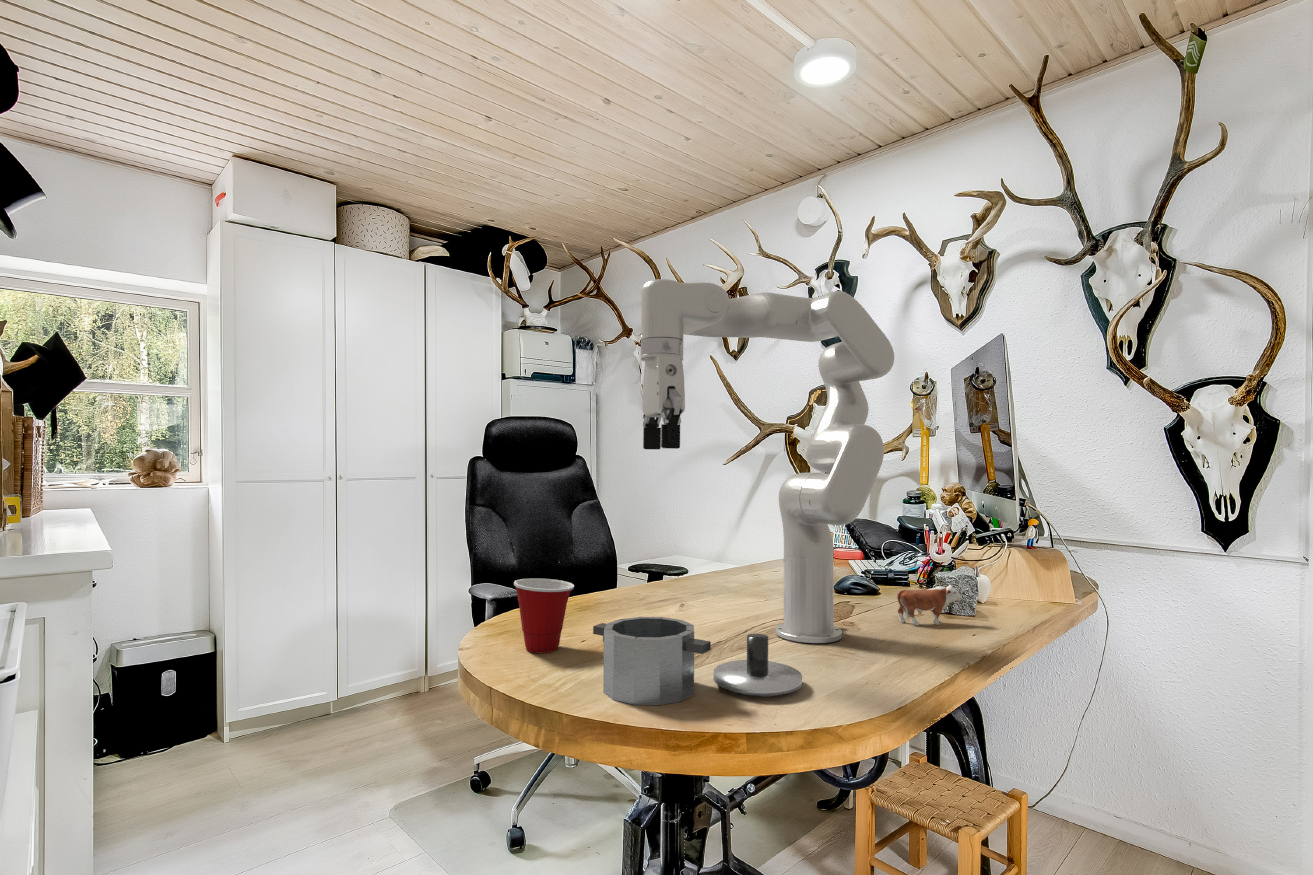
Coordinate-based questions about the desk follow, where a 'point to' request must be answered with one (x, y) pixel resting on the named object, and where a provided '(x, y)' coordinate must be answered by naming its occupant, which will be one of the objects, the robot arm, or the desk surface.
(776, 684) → the lid
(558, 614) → the plastic cup
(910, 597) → the bull figurine
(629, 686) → the pot
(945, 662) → the desk surface
